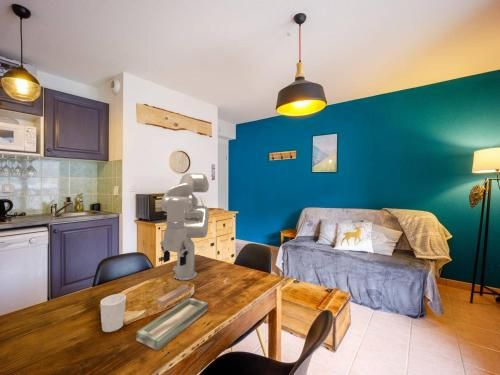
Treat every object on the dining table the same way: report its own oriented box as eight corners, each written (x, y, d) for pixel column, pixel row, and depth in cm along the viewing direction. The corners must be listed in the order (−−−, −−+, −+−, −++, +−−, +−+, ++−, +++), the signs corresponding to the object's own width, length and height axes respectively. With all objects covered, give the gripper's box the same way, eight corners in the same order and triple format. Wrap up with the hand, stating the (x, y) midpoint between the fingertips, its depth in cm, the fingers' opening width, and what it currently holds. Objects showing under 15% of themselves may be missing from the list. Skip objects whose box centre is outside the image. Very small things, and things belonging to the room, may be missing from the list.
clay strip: (156, 308, 94) (156, 299, 94) (183, 292, 108) (183, 284, 108) (162, 311, 93) (162, 301, 92) (189, 294, 107) (189, 286, 107)
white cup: (98, 336, 76) (99, 307, 76) (101, 323, 83) (102, 296, 83) (124, 329, 80) (125, 302, 80) (125, 317, 87) (126, 292, 87)
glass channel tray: (136, 340, 74) (136, 331, 74) (189, 304, 98) (189, 297, 98) (157, 350, 70) (158, 341, 70) (207, 310, 94) (207, 303, 93)
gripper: (155, 224, 100) (154, 262, 100) (184, 228, 93) (183, 269, 93) (167, 222, 107) (166, 257, 107) (196, 225, 100) (195, 263, 100)
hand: (174, 263), depth 100 cm, fingers open, 9 cm apart
